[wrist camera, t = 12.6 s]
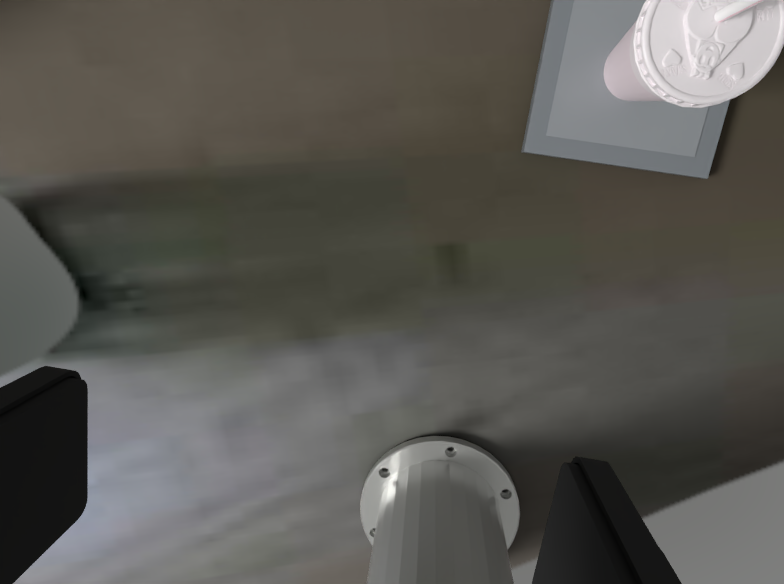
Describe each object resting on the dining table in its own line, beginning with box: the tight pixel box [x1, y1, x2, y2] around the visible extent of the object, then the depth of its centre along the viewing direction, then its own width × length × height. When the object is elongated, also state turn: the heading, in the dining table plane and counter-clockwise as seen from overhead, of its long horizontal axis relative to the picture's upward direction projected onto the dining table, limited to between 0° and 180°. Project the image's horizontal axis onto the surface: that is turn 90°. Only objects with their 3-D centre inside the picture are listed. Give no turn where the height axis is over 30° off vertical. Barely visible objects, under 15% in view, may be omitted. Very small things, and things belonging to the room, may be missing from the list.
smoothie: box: [604, 0, 784, 108], centre depth 26 cm, size 6×6×14 cm
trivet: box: [521, 0, 730, 179], centre depth 33 cm, size 12×12×1 cm
